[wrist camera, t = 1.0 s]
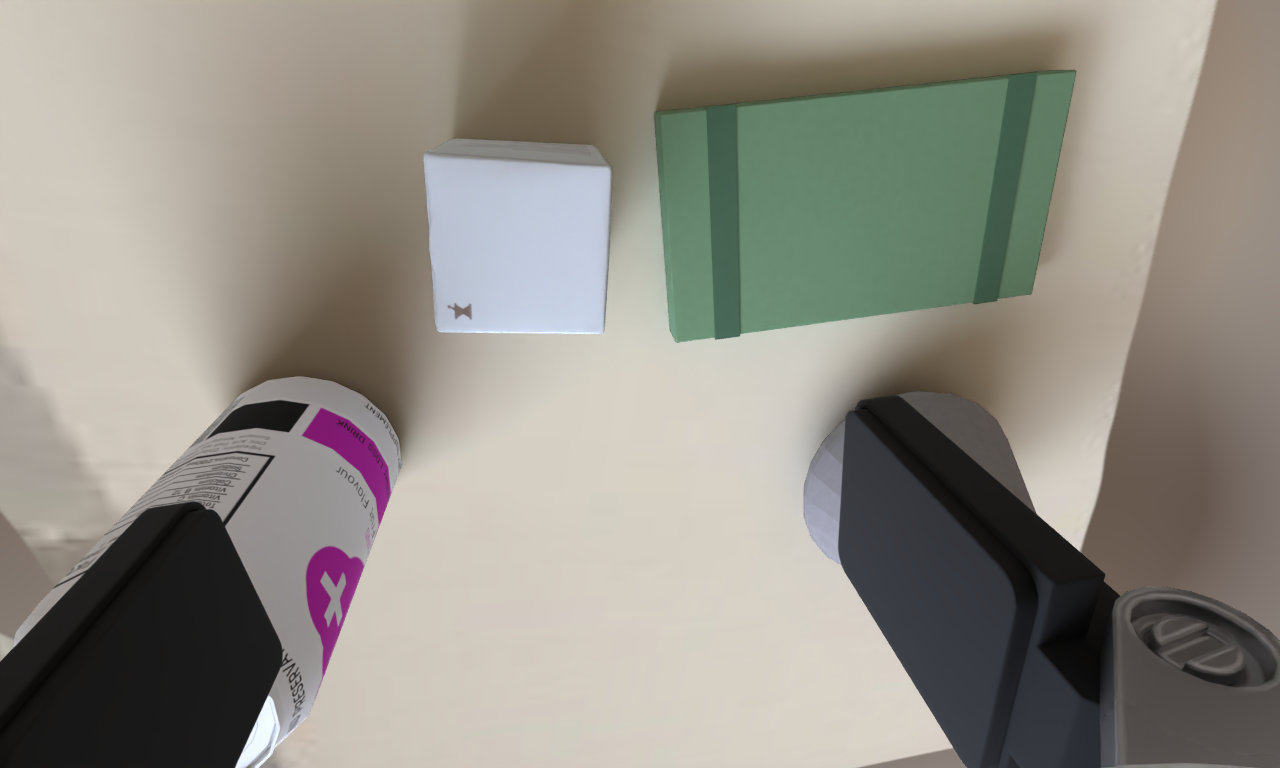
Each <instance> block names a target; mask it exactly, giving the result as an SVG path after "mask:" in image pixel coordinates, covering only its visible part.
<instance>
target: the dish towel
mask: <svg viewBox="0 0 1280 768" xmlns="http://www.w3.org/2000/svg"><path fill="white" fill-rule="evenodd" d="M1075 76H1076V70H1049V71H1040V72H1030V73H1021V74H1011V75H1002V76H992V77H983V78H973V79H964V80H954V81H945V82H935V83H926V84H916V85H907V86H897V87H888V88H878V89H869V90H859V91H850V92H840V93H831V94H821V95H812V96H802V97H793V98H783V99H774V100H764V101H755V102H745V103H736V104H726V105H717V106H707V107H698V108H688V109H679V110H669V111H660V112H655V113H654V119H655V133H656V147H657V161H658V174H659V188H660V202H661V216H662V230H663V243H664V257H665V271H666V285H667V299H668V313H669V326H670V332H671V334H672V336H673V338H674V340H675V342H677V343H678V342H685V341H692V340H700V339H707V338H714V337H715V340H716V339H724V338H731V337H738V336H740V334H744V333H751V332H758V331H766V330H773V329H780V328H787V327H795V326H802V325H809V324H817V323H824V322H831V321H839V320H846V319H853V318H861V317H868V316H875V315H883V314H890V313H897V312H905V311H912V310H919V309H927V308H934V307H941V306H949V305H956V304H963V303H971V302H973V304H979V303H987V302H994V301H997V299H1000V298H1007V297H1015V296H1022V295H1029V294H1032V290H1033V285H1034V280H1035V275H1036V270H1037V265H1038V260H1039V255H1040V250H1041V245H1042V240H1043V235H1044V230H1045V225H1046V220H1047V215H1048V210H1049V205H1050V200H1051V195H1052V190H1053V185H1054V181H1055V176H1056V171H1057V166H1058V161H1059V156H1060V151H1061V146H1062V141H1063V136H1064V131H1065V126H1066V121H1067V116H1068V111H1069V106H1070V101H1071V96H1072V91H1073V86H1074V81H1075Z"/></svg>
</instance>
